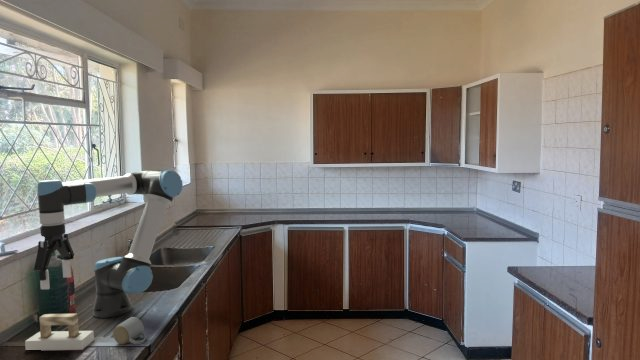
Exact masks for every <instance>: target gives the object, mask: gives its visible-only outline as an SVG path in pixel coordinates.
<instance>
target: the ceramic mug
mask: <svg viewBox="0 0 640 360" xmlns="http://www.w3.org/2000/svg"><path fill="white" fill-rule="evenodd" d="M144 329H145V328H144V324H143V321H141V320H140V318H138V317H136V316H130V317H128V318H127V319H126V320H124V321H122V322H120V323H119V324H117V325H116V326H115V328H114V329H113V332H112V336H113V339H114V340H115V342H116V343H117V344H119V345H126V344H128V343H131V344H134V345H141V344H143V343H144V342H145V341H146V338H147V336H146V333H145V332H144ZM139 337H142V338H143V339H142V340H136V339H138V338H139Z"/></svg>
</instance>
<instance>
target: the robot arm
mask: <svg viewBox="0 0 640 360" xmlns="http://www.w3.org/2000/svg"><path fill="white" fill-rule="evenodd" d="M181 178H182V177H181V176H180V174H179V173H178V172H176V171H174V170H171V169H145V170H141V171H136V172H130V173H126V174H124V175H123V176H121V175H119V176H112V177H101V178H89V179H81V180H72V181H62V180H61V179H46V180H40V181H38V183H37V188H36V189H37V194H36V195H37V199H38V201H37V203H38V214H39V216H38V217H39V224H40V227H39V228H40V229H39V230H40V236H42V237H43V238H44V240H42V241H41V240H40V241H38V242H37V246H38V249H37V253H36V258H35V263H34V267H33V271H35V272H38V273H39V284H40V290H50V289H51V287H50V285H51V284H50V273H49V272H50V271H49V269H48V267H49V265H50V262H51V259H52V256H53V254H54V253H55V251H57V252H58V253H59V254H60V256H61V258H62V260H61V267H62V278H63V279H64V278H72V262H71V261H72V260H74V255H75V253H74V250H73V248H72V245H71V243H70V240H69V237H68V236H69V235H68V233H66V225H65V221H66V220H65V219H66V218H65V206H70V205H77V204H78V205H80V204H87V203H92V202H94V201H95V200H96V198H99V197H100V198H101V197H107V196H113V195H114V196H115V195H122V194H123V195H124V194H126V195H131V196H132V195H144V196H145V199H146V203H145V206H144V208H143V211H142V214H141V217H140V220H139V222H138V224H137V228H136V231H135V234H134V236H133V239H132V242H131V246H130V247H129V250H128V253H127V254H125V255H124V256H114V257H109V258H104V259H100V260H98V261H96V262H95V263H94V276H95V278H94V279H95V294H96V295H95V300H94V304H93V308H92V315H93V316H94V318H101V319H103V318H104V319H105V318H114V317H118V316H122V315H125V314H127V313H129V312H130V311H132V303H131V300H130V297H129V295H128V294H130V295H132V294H134V295H137V294H138V295H139V294H142V293H143V292H144V291H146V290H147V289H148V288H149V287H150V286H151V284H152V281H153V278H154V275H153V271H152V269H151V266H152V262H151V260H150V257H151V254H152V251H153V248H154V245H155V243H156V239H157V238H158V237H157V236H158V233H159V231H160V228H161V225H162V222H163V220H164V219H163V218H164V216H165V213H166V210H167V207H168V206H169V205H171V204H172V203H173V200H174V198H176V197H178V196H179V195H180V194H181V192H182V190H183V180H182V179H181Z"/></svg>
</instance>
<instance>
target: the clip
mask: <svg viewBox="0 0 640 360" xmlns="http://www.w3.org/2000/svg"><path fill="white" fill-rule="evenodd" d="M78 315H79V314H78V313H45V314H42V315H41V316H39V317H38V318H39V332H40V334H41V339H47V338H49V337H50V336H51V331H52V326H67V328H68V329H67V331H68V333H69V338H76V337H77V336H79V331H80V330H79V327H80V326H79V316H78Z"/></svg>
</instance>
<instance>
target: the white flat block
mask: <svg viewBox="0 0 640 360" xmlns="http://www.w3.org/2000/svg"><path fill="white" fill-rule="evenodd" d="M94 340H95V335H94V330H79V336H77V337H76V338H69V333H68V330H66V331H65V330H60V331H59V330H56V331H55V330H54V331H52V330H51V336H50V337H49V338H47V339H41V334H40V331H38V332H36V333H35V334H33V335H32V336H30V337H29V338H27V339H26V340H25V341H24V344H25V345H24V346H25V351H26V350H41V351H81V350H82V351H83V350H84V349H86V347H88V346H89V345H90V344H91V343H92V342H94Z"/></svg>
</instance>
